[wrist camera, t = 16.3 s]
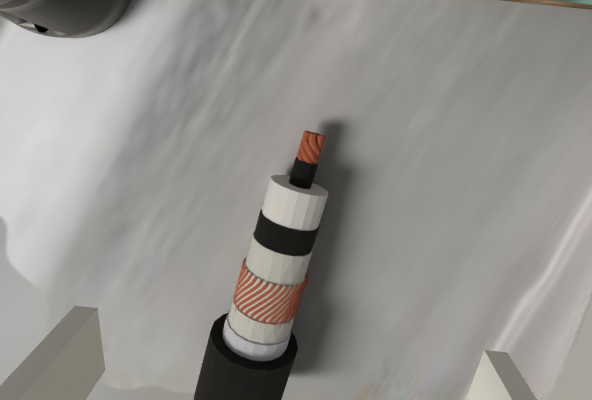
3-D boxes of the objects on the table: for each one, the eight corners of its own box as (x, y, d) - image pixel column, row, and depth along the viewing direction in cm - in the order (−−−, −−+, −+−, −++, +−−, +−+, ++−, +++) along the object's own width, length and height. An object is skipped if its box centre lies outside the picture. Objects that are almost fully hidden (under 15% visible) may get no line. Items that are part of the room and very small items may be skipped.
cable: (331, 132, 43) (386, 156, 35) (258, 370, 52) (288, 435, 44) (249, 112, 38) (291, 135, 30) (185, 379, 47) (203, 454, 39)
